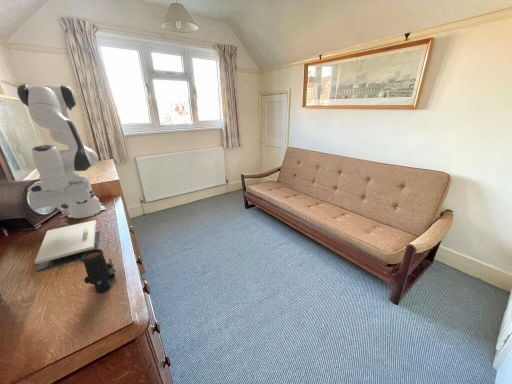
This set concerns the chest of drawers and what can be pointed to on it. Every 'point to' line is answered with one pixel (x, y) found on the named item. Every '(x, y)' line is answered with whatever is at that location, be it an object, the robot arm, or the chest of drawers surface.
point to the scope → (98, 270)
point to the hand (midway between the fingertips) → (66, 212)
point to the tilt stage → (67, 241)
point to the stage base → (67, 257)
